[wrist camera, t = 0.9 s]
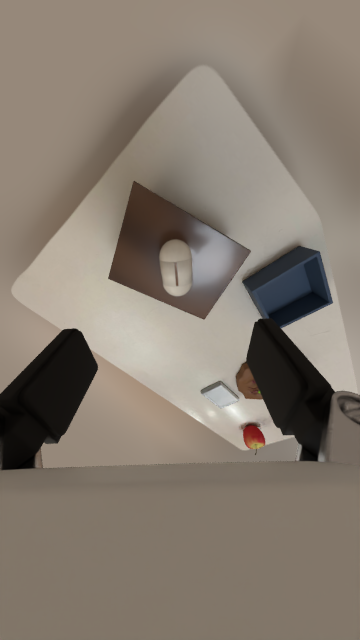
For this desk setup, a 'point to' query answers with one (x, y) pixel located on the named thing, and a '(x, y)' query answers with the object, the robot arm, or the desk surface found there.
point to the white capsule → (176, 267)
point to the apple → (253, 437)
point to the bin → (290, 287)
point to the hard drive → (220, 395)
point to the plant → (247, 383)
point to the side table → (153, 232)
